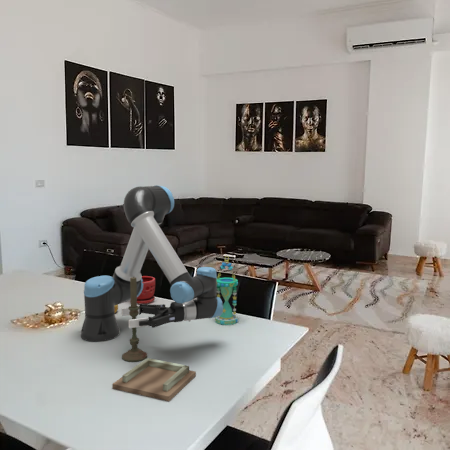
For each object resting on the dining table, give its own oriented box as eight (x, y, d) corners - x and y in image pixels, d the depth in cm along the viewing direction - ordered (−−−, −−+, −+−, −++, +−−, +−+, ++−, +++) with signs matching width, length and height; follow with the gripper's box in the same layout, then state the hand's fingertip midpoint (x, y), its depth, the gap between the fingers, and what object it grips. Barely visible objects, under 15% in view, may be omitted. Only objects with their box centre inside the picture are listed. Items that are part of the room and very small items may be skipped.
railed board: (112, 388, 142) (112, 377, 141) (143, 365, 158) (143, 355, 158) (169, 401, 134) (169, 390, 134) (195, 375, 151) (195, 365, 150)
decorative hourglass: (210, 323, 202) (210, 256, 198) (219, 316, 212) (220, 252, 208) (233, 326, 197) (234, 258, 194) (242, 319, 207) (242, 254, 204)
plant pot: (142, 296, 242) (142, 274, 241) (160, 300, 234) (160, 278, 233) (123, 302, 232) (123, 279, 230) (142, 307, 224) (141, 283, 222)
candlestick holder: (141, 363, 160) (140, 279, 156) (117, 360, 162) (115, 278, 158) (151, 352, 169) (150, 273, 165) (128, 350, 171) (126, 272, 167)
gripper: (193, 331, 160) (132, 340, 151) (172, 311, 182) (119, 317, 174) (193, 311, 159) (132, 318, 150) (172, 292, 181) (118, 298, 173)
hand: (124, 317), depth 162 cm, fingers open, 13 cm apart
